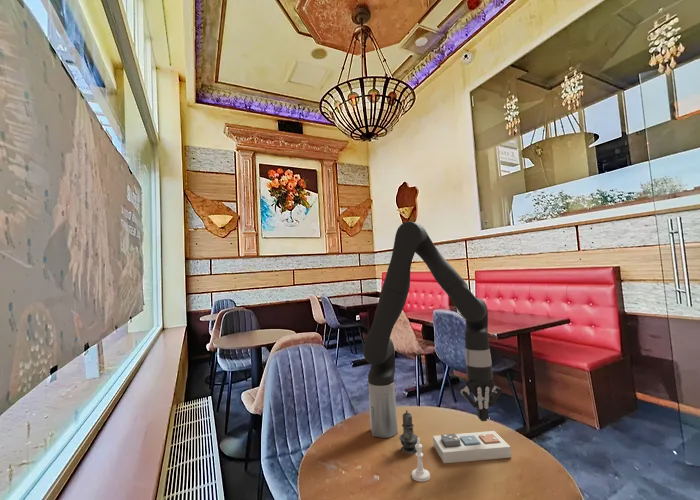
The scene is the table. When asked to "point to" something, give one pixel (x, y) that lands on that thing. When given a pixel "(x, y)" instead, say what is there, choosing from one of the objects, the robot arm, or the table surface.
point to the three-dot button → (450, 440)
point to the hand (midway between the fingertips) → (483, 420)
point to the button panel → (472, 449)
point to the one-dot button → (469, 440)
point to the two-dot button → (489, 439)
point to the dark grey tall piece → (408, 435)
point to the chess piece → (420, 466)
